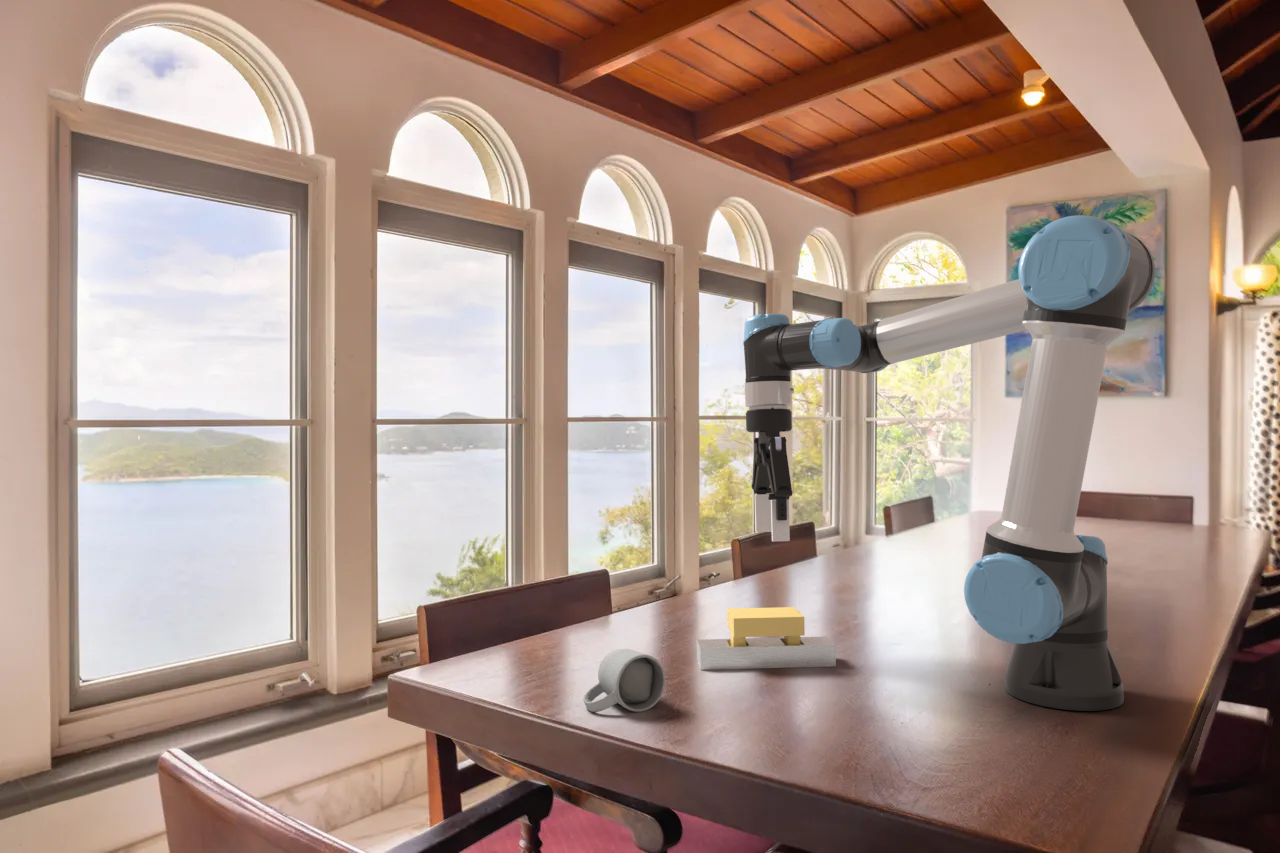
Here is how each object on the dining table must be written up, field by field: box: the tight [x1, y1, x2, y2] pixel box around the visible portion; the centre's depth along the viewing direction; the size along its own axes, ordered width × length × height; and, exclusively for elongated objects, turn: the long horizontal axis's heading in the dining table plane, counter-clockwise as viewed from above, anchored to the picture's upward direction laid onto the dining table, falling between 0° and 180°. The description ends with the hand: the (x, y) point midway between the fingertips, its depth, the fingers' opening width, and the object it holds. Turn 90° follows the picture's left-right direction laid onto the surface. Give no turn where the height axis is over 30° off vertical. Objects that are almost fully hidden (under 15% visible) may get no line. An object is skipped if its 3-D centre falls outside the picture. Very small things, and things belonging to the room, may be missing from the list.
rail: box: [696, 636, 837, 671], centre depth 137 cm, size 6×22×4 cm, turn 92°
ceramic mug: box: [582, 648, 666, 713], centre depth 117 cm, size 11×8×8 cm
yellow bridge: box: [726, 606, 805, 646], centre depth 137 cm, size 8×11×8 cm, turn 92°
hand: (771, 536), depth 138 cm, fingers open, 13 cm apart
